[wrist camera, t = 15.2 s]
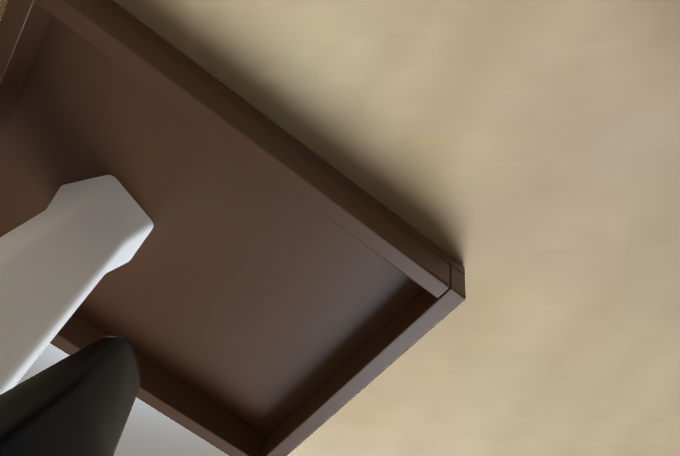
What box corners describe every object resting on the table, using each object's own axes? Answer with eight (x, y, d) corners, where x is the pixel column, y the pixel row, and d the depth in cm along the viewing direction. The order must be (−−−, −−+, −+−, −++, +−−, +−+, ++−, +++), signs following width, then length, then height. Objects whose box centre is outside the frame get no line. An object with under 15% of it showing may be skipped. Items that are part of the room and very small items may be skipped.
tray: (464, 266, 22) (466, 299, 20) (275, 440, 28) (263, 477, 26) (61, -39, 19) (20, -34, 17) (-51, 231, 25) (-90, 256, 23)
